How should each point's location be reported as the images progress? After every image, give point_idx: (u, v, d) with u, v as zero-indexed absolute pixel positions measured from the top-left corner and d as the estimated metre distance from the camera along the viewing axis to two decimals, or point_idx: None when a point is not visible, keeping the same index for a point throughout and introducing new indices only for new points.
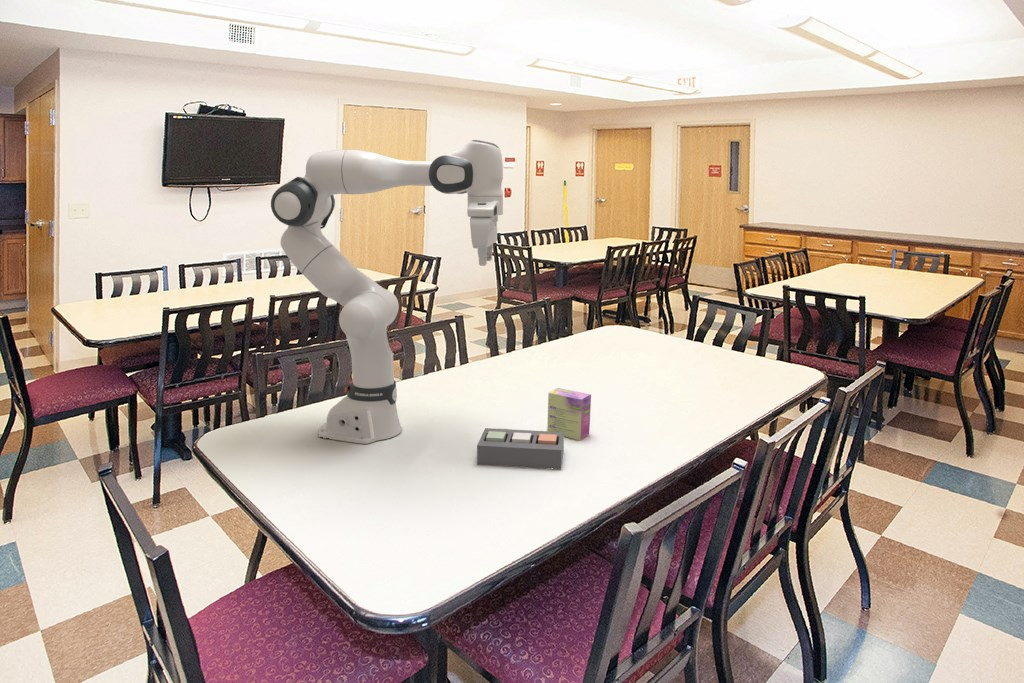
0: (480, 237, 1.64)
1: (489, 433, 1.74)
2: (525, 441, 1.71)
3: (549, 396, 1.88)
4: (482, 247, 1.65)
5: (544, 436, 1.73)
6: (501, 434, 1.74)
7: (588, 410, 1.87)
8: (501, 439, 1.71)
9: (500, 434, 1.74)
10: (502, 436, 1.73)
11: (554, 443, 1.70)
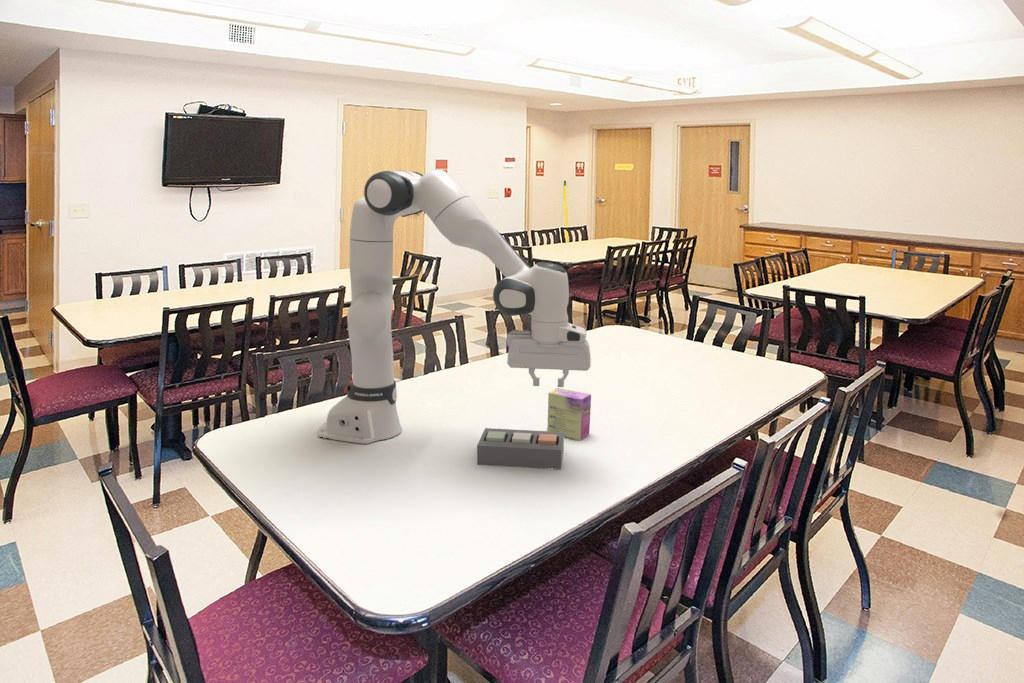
0: None
1: (489, 433, 1.74)
2: (525, 441, 1.71)
3: (549, 396, 1.88)
4: None
5: (544, 436, 1.73)
6: (501, 434, 1.74)
7: (588, 410, 1.87)
8: (501, 439, 1.71)
9: (500, 434, 1.74)
10: (502, 436, 1.73)
11: (554, 443, 1.70)
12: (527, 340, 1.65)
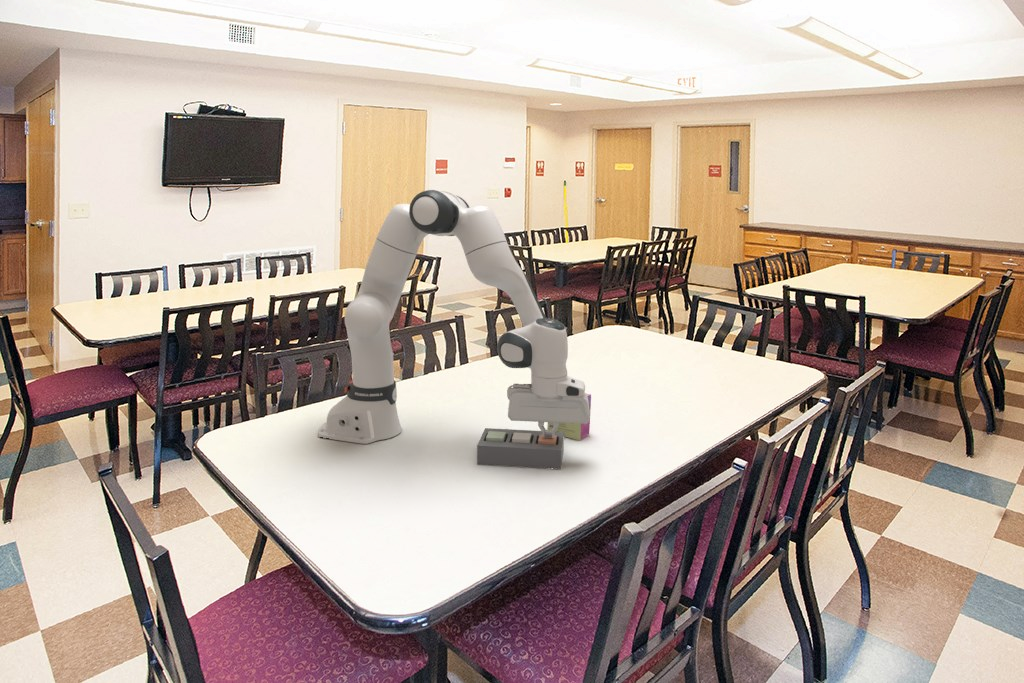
0: None
1: (489, 433, 1.74)
2: (525, 441, 1.71)
3: None
4: None
5: None
6: (501, 434, 1.74)
7: None
8: (501, 439, 1.71)
9: (500, 434, 1.74)
10: (502, 436, 1.73)
11: (554, 444, 1.70)
12: (527, 394, 1.68)
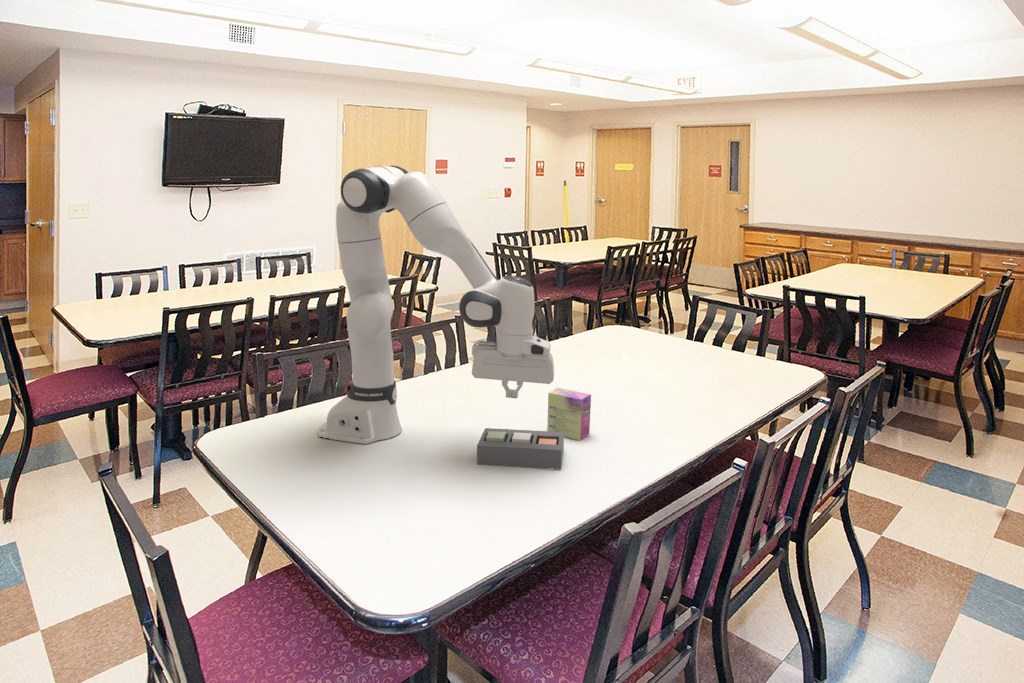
0: (553, 371, 1.68)
1: (489, 433, 1.74)
2: (525, 441, 1.71)
3: (549, 396, 1.88)
4: None
5: (544, 440, 1.73)
6: (501, 434, 1.74)
7: (588, 410, 1.87)
8: (501, 439, 1.71)
9: (500, 434, 1.74)
10: (502, 436, 1.73)
11: None
12: (492, 351, 1.67)
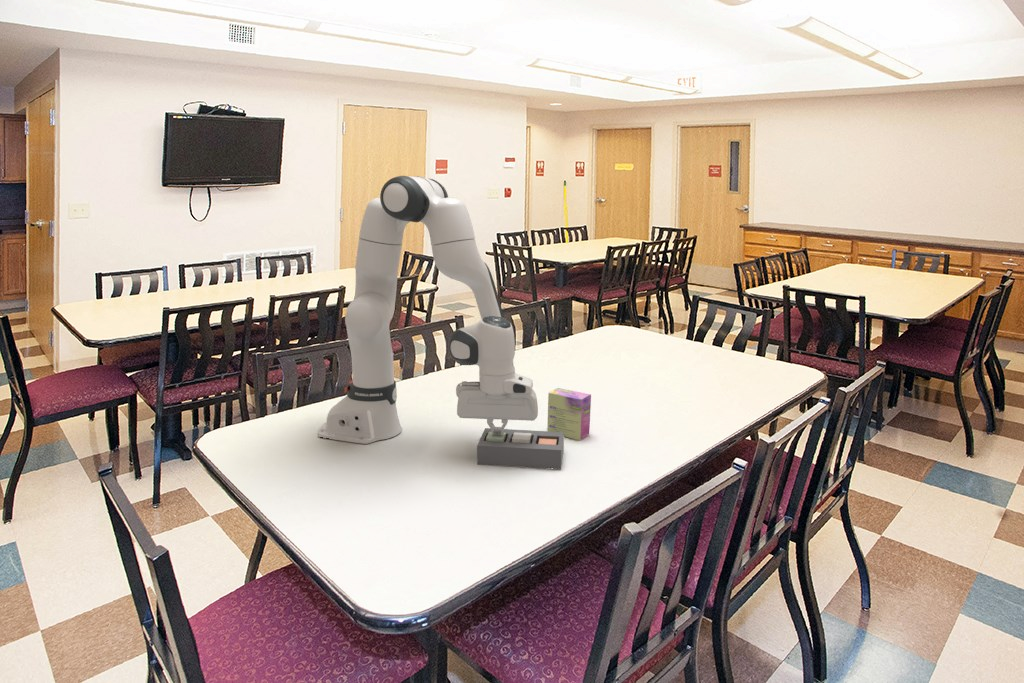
0: (537, 408, 1.71)
1: (489, 434, 1.75)
2: (525, 441, 1.71)
3: (549, 396, 1.88)
4: None
5: (544, 440, 1.73)
6: None
7: (588, 410, 1.87)
8: (501, 440, 1.71)
9: None
10: (502, 437, 1.73)
11: None
12: (475, 392, 1.70)
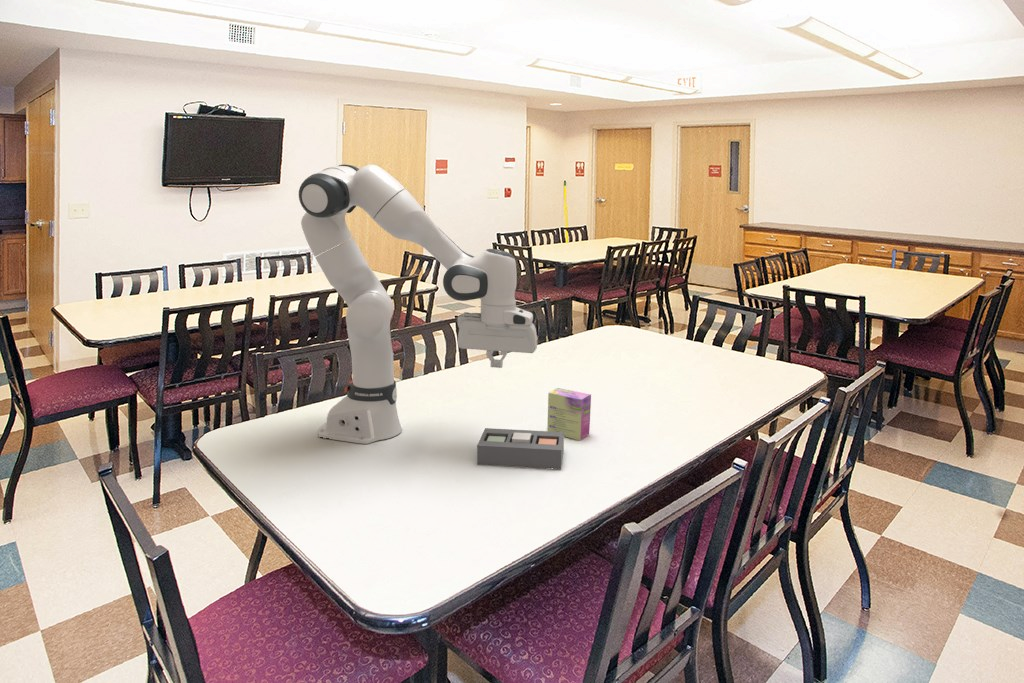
0: (536, 341, 1.74)
1: (489, 438, 1.75)
2: (525, 441, 1.71)
3: (549, 396, 1.88)
4: None
5: (544, 440, 1.73)
6: (501, 439, 1.74)
7: (588, 410, 1.87)
8: None
9: (500, 439, 1.74)
10: (502, 441, 1.73)
11: None
12: (476, 322, 1.73)
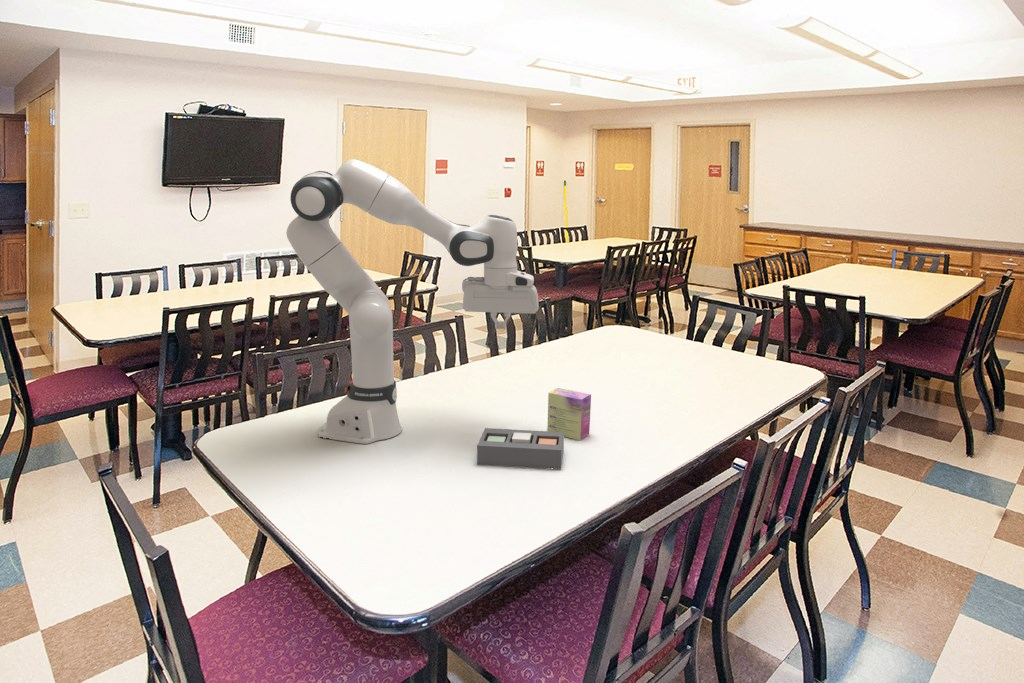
0: None
1: (489, 438, 1.75)
2: (525, 441, 1.71)
3: (549, 396, 1.88)
4: None
5: (544, 440, 1.73)
6: (501, 439, 1.74)
7: (588, 410, 1.87)
8: None
9: (500, 439, 1.74)
10: (502, 441, 1.73)
11: None
12: (480, 286, 1.82)
